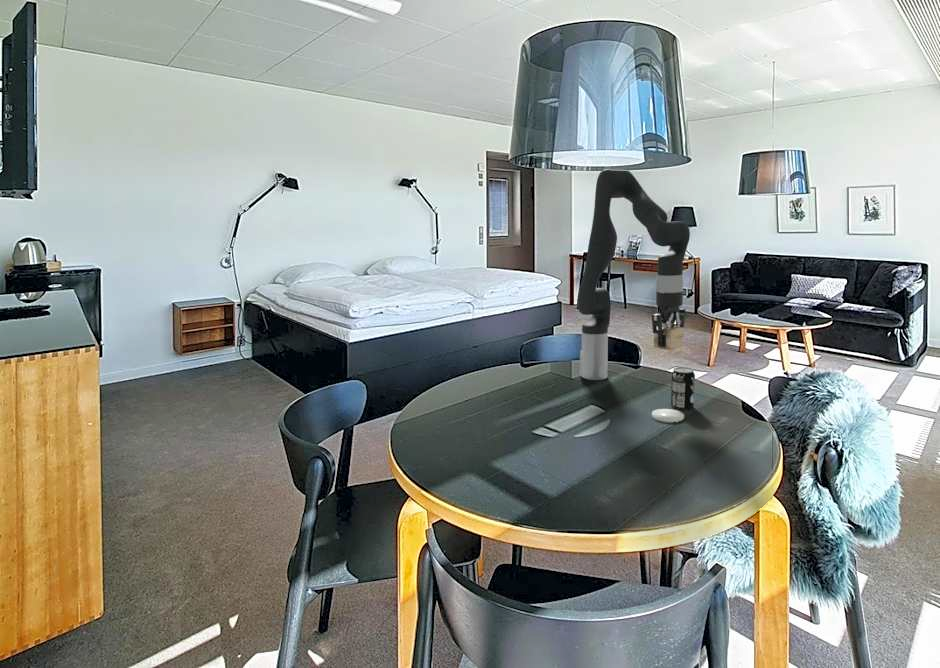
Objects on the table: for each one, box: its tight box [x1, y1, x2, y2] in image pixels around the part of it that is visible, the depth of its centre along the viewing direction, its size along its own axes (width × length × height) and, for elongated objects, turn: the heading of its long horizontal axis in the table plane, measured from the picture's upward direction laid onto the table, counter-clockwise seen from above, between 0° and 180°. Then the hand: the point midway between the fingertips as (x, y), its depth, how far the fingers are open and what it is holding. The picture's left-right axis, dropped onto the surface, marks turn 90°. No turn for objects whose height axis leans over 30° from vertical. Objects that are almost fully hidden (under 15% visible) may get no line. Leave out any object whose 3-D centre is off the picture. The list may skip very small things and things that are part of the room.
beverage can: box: [670, 366, 696, 410], centre depth 170 cm, size 7×7×12 cm
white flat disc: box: [651, 408, 685, 424], centre depth 163 cm, size 9×9×1 cm
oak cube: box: [653, 325, 684, 351], centre depth 167 cm, size 6×6×6 cm
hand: (668, 344), depth 167 cm, fingers closed on oak cube, 6 cm apart
